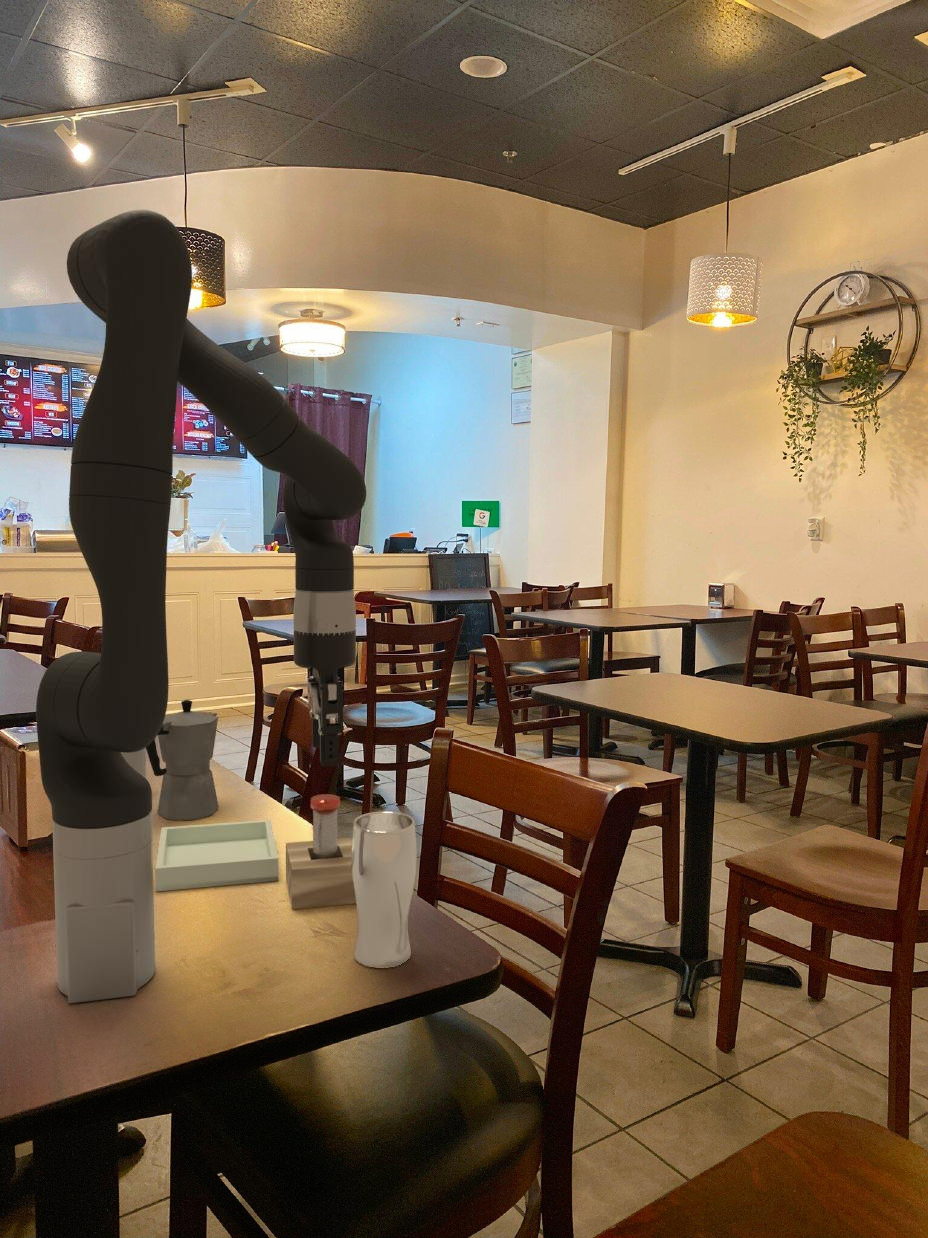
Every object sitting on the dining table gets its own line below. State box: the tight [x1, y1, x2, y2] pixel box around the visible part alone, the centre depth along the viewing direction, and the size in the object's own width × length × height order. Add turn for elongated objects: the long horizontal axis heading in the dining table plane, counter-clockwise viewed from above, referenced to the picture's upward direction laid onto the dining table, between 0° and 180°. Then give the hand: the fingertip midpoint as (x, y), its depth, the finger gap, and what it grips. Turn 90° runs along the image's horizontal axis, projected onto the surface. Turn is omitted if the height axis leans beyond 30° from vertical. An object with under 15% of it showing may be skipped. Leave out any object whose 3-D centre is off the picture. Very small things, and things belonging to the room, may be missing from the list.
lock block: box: [285, 837, 356, 910], centre depth 112 cm, size 9×9×5 cm
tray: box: [154, 819, 279, 892], centre depth 120 cm, size 15×15×3 cm
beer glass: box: [351, 810, 417, 968], centre depth 95 cm, size 7×7×15 cm
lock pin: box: [310, 793, 341, 860], centre depth 111 cm, size 4×4×12 cm
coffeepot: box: [145, 699, 220, 822], centre depth 138 cm, size 15×9×18 cm, turn 155°
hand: (325, 755), depth 110 cm, fingers open, 8 cm apart
